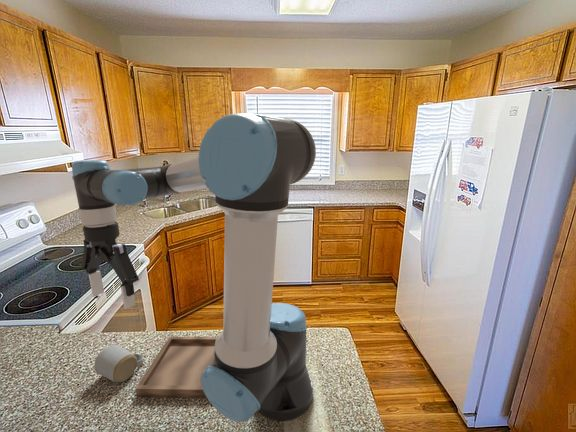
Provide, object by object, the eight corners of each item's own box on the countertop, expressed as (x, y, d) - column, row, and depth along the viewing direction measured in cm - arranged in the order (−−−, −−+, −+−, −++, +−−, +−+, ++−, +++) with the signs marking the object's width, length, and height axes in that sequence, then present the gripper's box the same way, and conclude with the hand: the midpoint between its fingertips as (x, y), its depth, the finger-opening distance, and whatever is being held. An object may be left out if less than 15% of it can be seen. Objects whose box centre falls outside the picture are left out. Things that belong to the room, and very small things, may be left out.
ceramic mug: (116, 390, 74) (112, 364, 73) (95, 380, 78) (91, 355, 76) (151, 363, 84) (148, 339, 82) (131, 355, 87) (128, 332, 85)
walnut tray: (233, 343, 91) (233, 336, 91) (217, 398, 72) (216, 389, 71) (170, 343, 92) (169, 336, 91) (136, 397, 72) (135, 388, 72)
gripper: (147, 225, 71) (157, 304, 76) (87, 215, 82) (99, 284, 87) (117, 233, 64) (130, 319, 69) (56, 221, 76) (72, 295, 81)
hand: (113, 300), depth 78 cm, fingers open, 13 cm apart
